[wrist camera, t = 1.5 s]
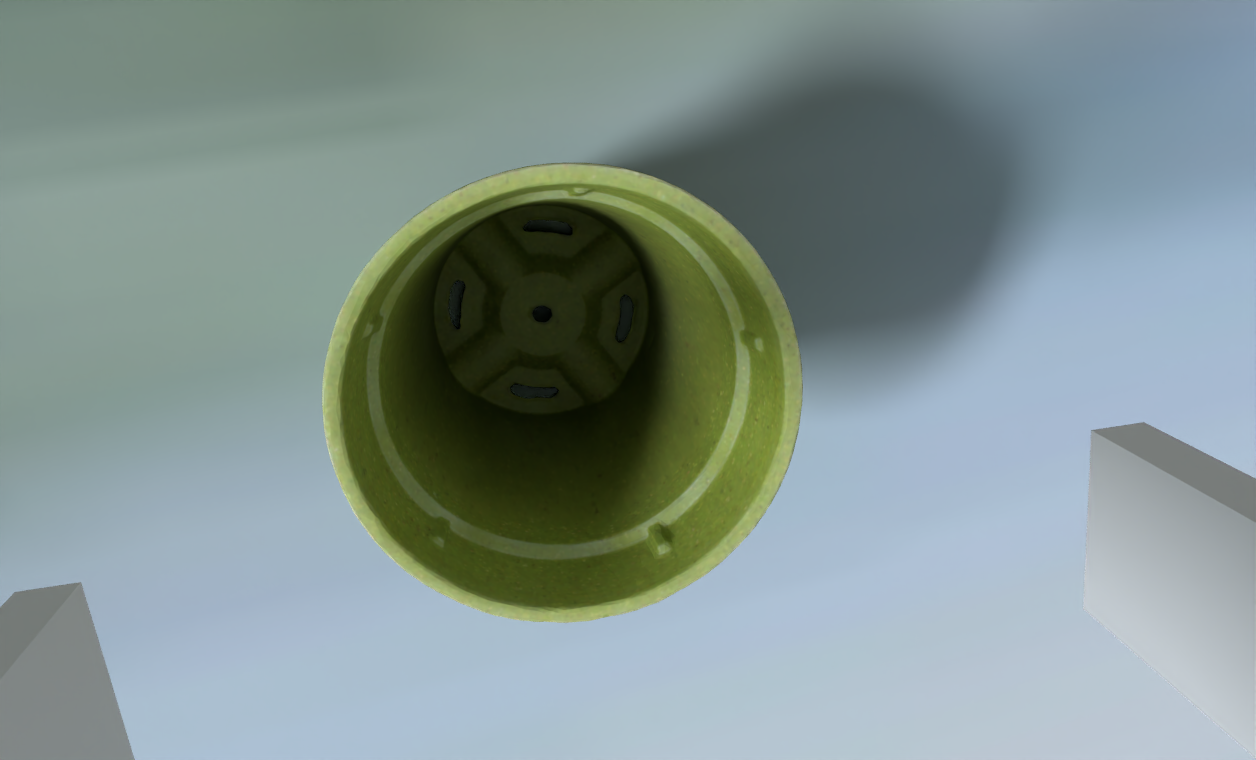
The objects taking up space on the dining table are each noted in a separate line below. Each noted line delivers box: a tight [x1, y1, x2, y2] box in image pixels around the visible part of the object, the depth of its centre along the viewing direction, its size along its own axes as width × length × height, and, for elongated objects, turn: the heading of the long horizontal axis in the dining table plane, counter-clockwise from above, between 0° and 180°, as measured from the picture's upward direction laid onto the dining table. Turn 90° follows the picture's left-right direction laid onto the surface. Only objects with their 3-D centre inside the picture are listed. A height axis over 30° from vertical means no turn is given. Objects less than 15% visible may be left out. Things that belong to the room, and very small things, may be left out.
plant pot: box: [322, 163, 803, 623], centre depth 23 cm, size 9×9×9 cm
